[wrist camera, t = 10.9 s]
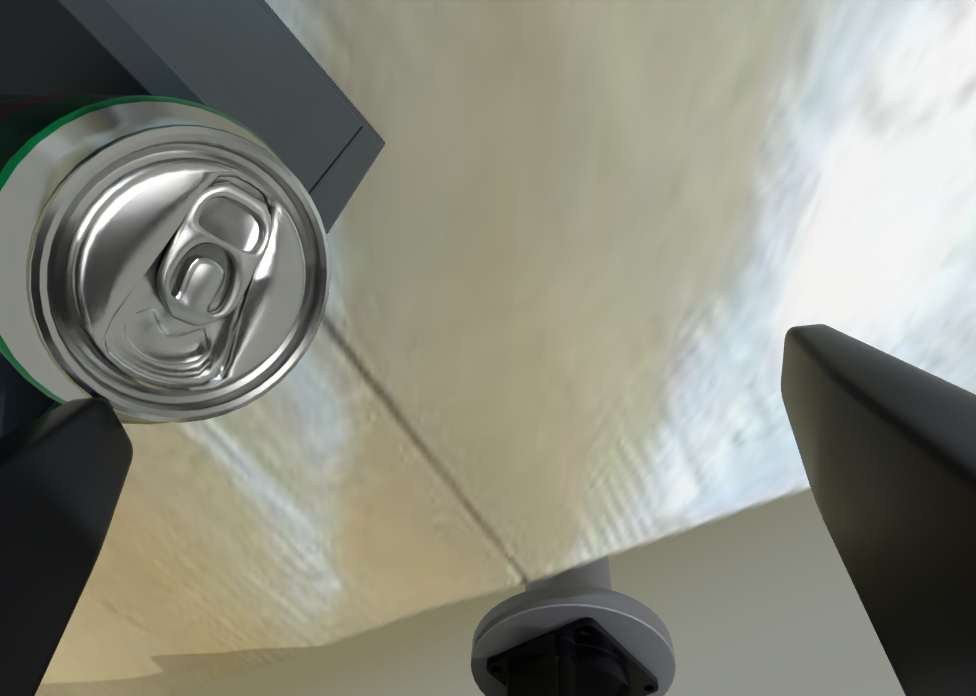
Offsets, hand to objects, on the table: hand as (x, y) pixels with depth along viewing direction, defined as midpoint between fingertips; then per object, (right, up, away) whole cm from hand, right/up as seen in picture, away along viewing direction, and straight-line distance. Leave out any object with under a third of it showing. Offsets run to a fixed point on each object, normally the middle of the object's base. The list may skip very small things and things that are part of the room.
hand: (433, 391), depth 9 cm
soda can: (-12, +5, +9) cm, 16 cm away
